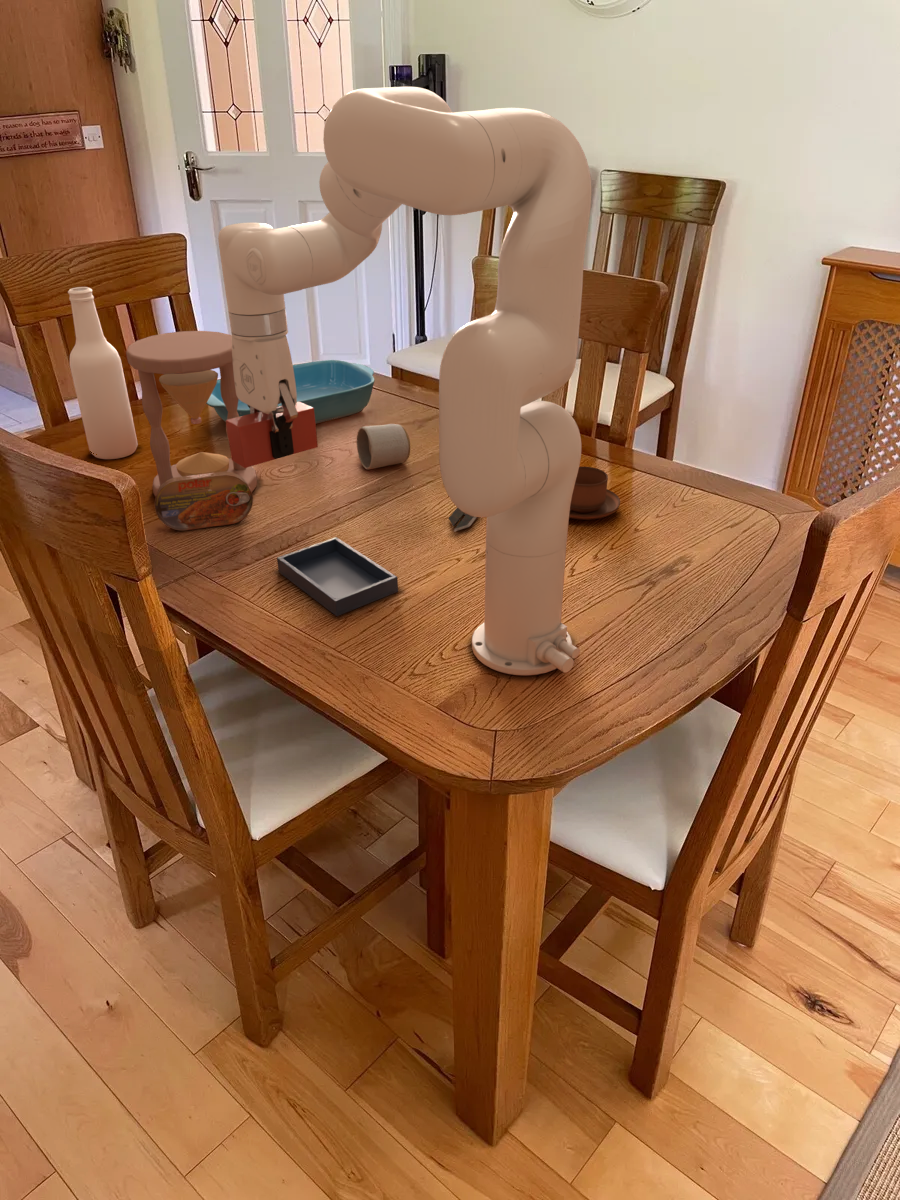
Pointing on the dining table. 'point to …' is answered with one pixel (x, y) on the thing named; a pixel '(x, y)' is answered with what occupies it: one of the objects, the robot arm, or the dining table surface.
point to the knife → (464, 522)
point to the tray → (337, 575)
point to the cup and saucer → (592, 495)
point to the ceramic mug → (382, 445)
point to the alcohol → (99, 383)
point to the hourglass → (186, 394)
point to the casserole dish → (320, 389)
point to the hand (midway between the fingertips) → (275, 450)
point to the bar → (268, 435)
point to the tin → (203, 501)
